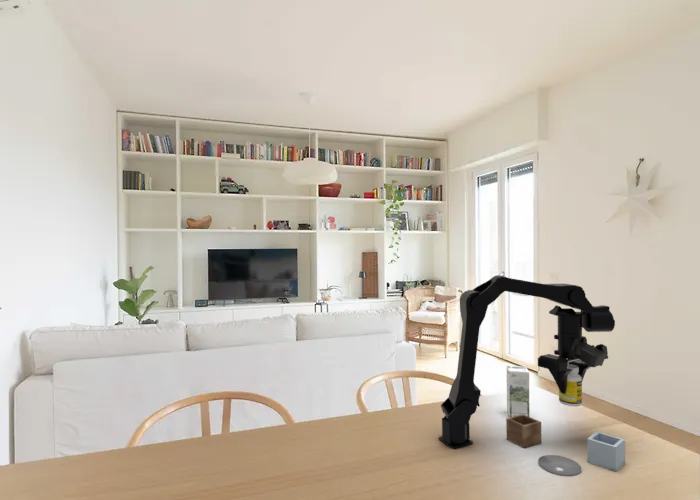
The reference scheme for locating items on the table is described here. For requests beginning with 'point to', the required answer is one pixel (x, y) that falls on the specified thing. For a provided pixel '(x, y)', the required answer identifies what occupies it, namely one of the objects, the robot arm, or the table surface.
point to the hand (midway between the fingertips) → (570, 391)
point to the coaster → (559, 465)
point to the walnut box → (523, 430)
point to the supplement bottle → (572, 388)
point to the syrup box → (517, 391)
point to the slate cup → (606, 451)
